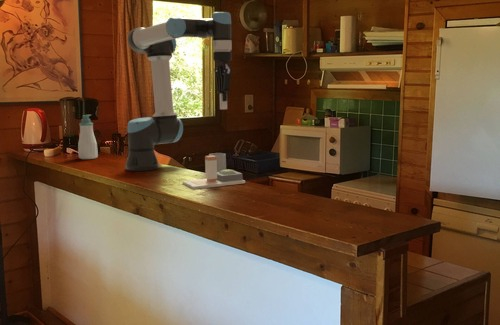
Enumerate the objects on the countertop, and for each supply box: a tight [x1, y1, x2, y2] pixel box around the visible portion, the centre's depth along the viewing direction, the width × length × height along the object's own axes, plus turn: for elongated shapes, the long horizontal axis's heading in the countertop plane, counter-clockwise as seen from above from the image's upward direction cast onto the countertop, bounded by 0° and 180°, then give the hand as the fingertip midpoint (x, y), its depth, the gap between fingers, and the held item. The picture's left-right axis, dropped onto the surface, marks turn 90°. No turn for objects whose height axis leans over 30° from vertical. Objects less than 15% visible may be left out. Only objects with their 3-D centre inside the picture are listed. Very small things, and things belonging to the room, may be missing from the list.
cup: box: [208, 152, 227, 172], centre depth 245 cm, size 7×10×9 cm
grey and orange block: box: [204, 155, 217, 182], centre depth 224 cm, size 4×4×10 cm
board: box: [182, 170, 246, 190], centre depth 225 cm, size 12×22×4 cm, turn 116°
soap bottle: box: [77, 114, 99, 160], centre depth 298 cm, size 10×10×23 cm
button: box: [221, 168, 235, 175], centre depth 229 cm, size 5×5×3 cm
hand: (223, 109), depth 234 cm, fingers closed
